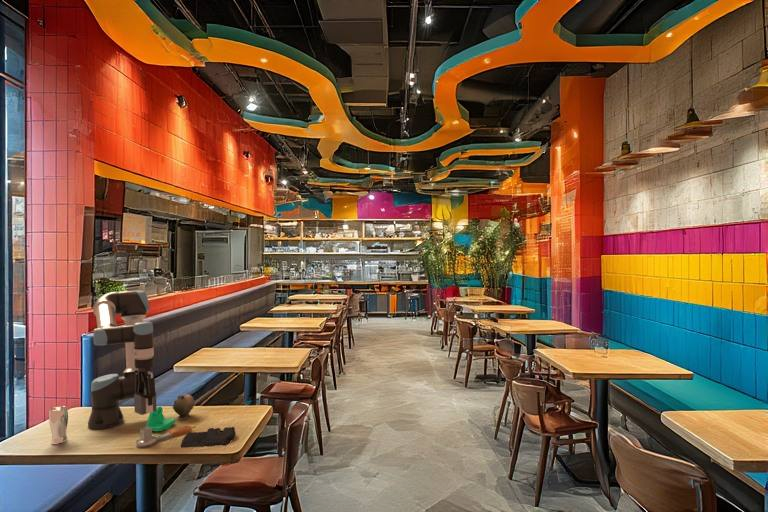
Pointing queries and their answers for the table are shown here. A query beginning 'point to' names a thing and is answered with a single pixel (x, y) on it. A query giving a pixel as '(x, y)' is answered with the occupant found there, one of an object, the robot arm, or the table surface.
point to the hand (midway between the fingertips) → (145, 410)
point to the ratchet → (150, 440)
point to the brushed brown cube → (142, 403)
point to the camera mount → (159, 420)
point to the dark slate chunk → (209, 437)
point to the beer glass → (58, 424)
